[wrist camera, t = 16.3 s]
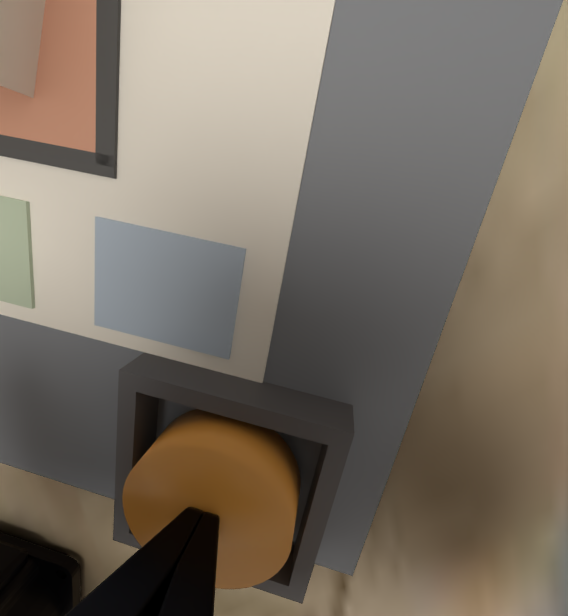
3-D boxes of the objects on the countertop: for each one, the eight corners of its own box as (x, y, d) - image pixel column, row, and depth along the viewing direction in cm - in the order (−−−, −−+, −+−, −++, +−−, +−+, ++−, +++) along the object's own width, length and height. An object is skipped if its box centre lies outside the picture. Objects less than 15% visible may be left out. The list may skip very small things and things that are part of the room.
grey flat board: (351, 551, 11) (353, 621, 9) (-48, 426, 13) (-116, 462, 11) (611, -186, 6) (752, -395, 4) (-148, -226, 7) (-322, -382, 5)
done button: (284, 549, 10) (274, 610, 8) (152, 506, 10) (119, 557, 9) (315, 432, 8) (310, 479, 7) (162, 389, 9) (125, 425, 7)
